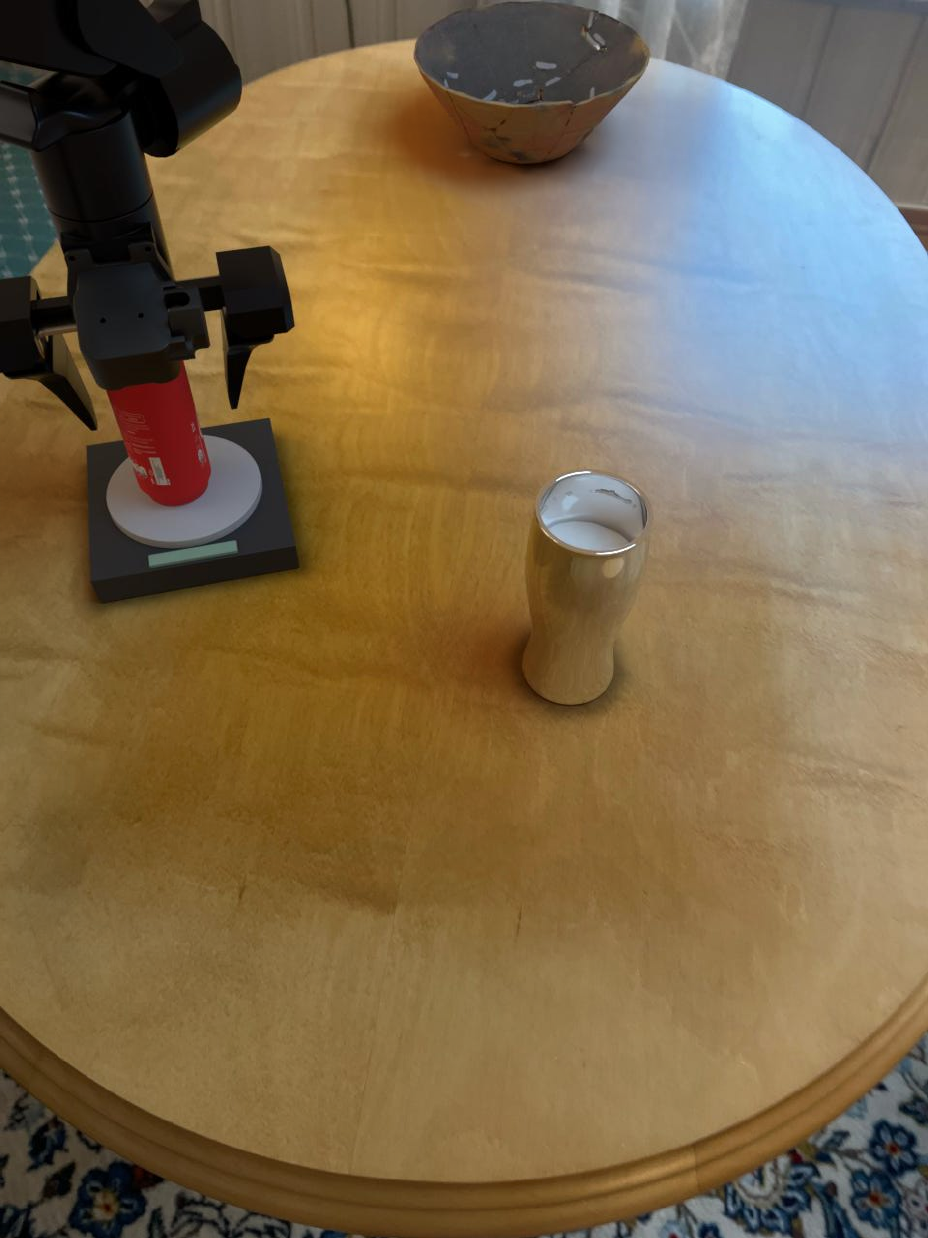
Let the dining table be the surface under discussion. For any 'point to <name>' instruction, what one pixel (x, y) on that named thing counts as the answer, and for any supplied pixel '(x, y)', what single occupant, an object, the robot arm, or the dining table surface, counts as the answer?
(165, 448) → the beverage can
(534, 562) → the beer glass
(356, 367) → the dining table surface
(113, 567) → the scale
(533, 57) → the bowl
